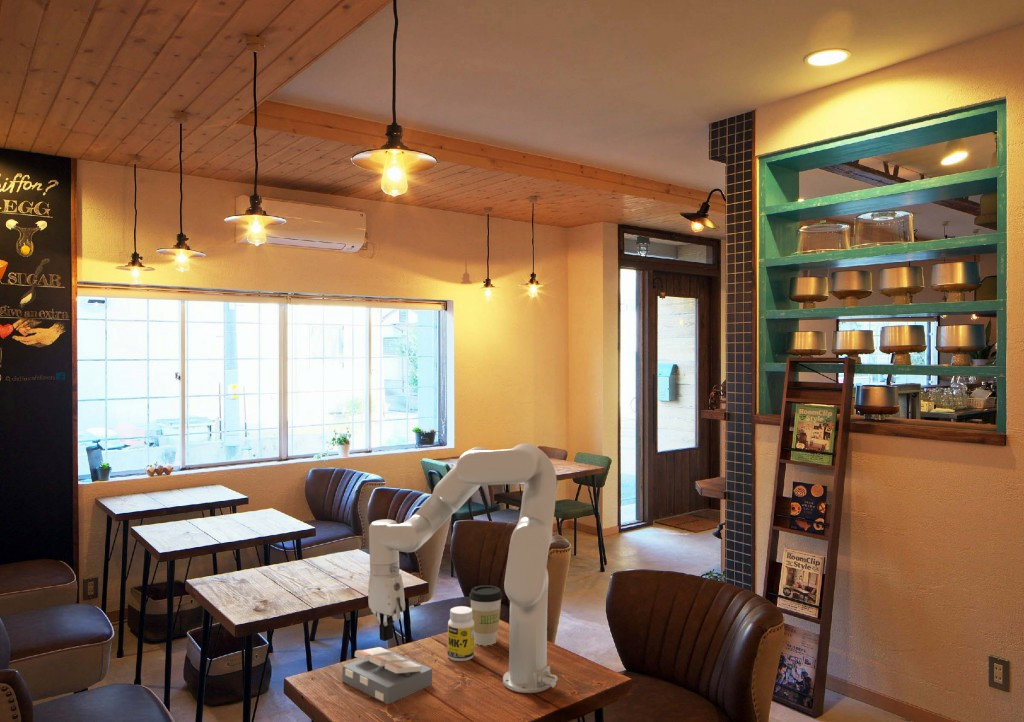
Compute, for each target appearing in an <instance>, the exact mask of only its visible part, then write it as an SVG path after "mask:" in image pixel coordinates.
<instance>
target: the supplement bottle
mask: <svg viewBox="0 0 1024 722" xmlns="http://www.w3.org/2000/svg"><path fill="white" fill-rule="evenodd" d="M472 616H473V615H472V609H471V607H469V606H465V605H460V606H459V605H458V606H454V607H452V608H450V609H449V620H448V622H447V648H446V649H447V652H446V653H447V657H448V659H449V660H451V661H456V662H465V661H466V662H467V661H469V660H471V659H473V658H474V655H475V639H474V621H473V619H472Z"/></svg>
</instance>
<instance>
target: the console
mask: <svg viewBox="0 0 1024 722" xmlns="http://www.w3.org/2000/svg"><path fill="white" fill-rule="evenodd" d="M386 650H388V651H391V650H389V649H386ZM390 655H397V656H399V657H401V658H404V659H406V661H411V662H413V663H415V664H418V665H420V666H422V667H421V671H418V672H407V673H394V672H392V671H390V670H387V669H385V666H379V665H376V664H374V663H372V662H370V660H369V661H364V660H361V659H359V658H358V660H357V659H356V660H354V661H352V662H349V663H346V664H344V665H342V674H341V675H342V681H343V683H344V682H345V683H344V684H346V683H348V684H349V685H348V684H347V685H348V686H350V685H351V686H350V687H352V686H353V687H352V688H354V687H355V688H354V689H356V688H357V689H356V690H358V689H359V690H358V691H360V692H362V691H363V692H362V693H364V694H366V693H367V694H366V695H368V696H369V697H372V698H374V699H376V700H378V701H380V702H382V703H384V704H386V705H390V704H392V703H395V702H396V701H399V700H401V699H403V698H406V697H409V696H410V695H412V694H414V693H417V692H419V691H422V690H423V689H426V688H429V687H430V686H432V685H433V668H431V667H429V666H427V665H424V664H422V663H420V662H418V661H414V660H413V659H410V658H409V657H408V658H407V656H403V655H401V654H398V653H396V652H394V651H391V652H390ZM406 661H405V662H406Z"/></svg>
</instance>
